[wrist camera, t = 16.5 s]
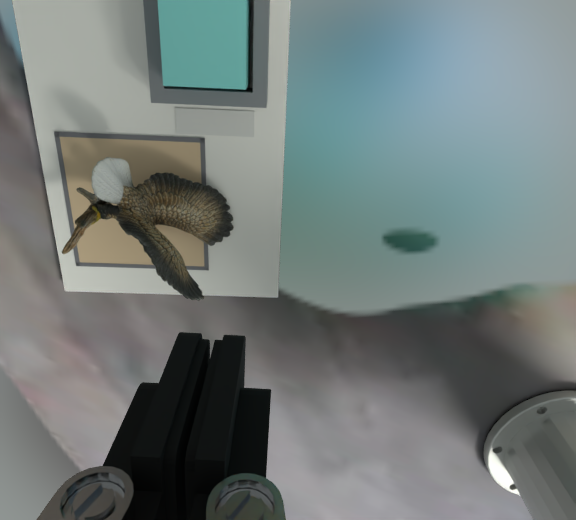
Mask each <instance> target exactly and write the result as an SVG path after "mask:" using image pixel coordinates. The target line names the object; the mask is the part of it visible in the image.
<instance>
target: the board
mask: <svg viewBox="0 0 576 520" xmlns="http://www.w3.org/2000/svg"><path fill="white" fill-rule="evenodd" d="M12 4H13V9H14V14H15V20H16V25H17V31H18V36H19V42H20V47H21V53H22V58H23V64H24V69H25V75H26V80H27V86H28V91H29V97H30V102H31V108H32V113H33V119H34V124H35V130H36V135H37V141H38V146H39V152H40V157H41V163H42V168H43V174H44V179H45V185H46V190H47V196H48V201H49V206H50V212H51V217H52V223H53V228H54V234H55V239H56V245H57V250H58V256H59V261H60V267H61V272H62V278H63V283H64V289H65V291H76V292H108V293H141V294H174V295H182V294H180V293H179V292H178V291H177V290H175V289H173V287H172V286H170V285H168V283H167V281H166V282H165V281H163V280H162V278H161V277H160V276H158V274H157V272H156V267H155V265H154V264H152V262H151V258H150V257H149V256H148V254H147V253H145V252H144V248H143V245H141V244H140V242H139V240H138V239H136V238H134V237H133V236H132V235H127V234H126V233H125V231H124V230H123V229H122V228H121V227H120V225H119V222H118V221H117V220H116V219H114V218H110V219H107V220H106V219H99V220H98V221H97V222H96V223H94V224H93V225H90V226H89V227H88V228H87V229H86V230H85V232H84V235H83V236H82V237H81V238H80V239H79V241H78V243H77V245H76V246H75V247H74V248H73V249H72V250H71V251H70V252H68V253H67V254H62V250H63V248H64V246H65V245H66V243H67V242H68V241H69V239H70V238H71V236H72V234H73V232H74V230H75V228H76V226H77V225H76V224H75V220H76V219H77V218H78V217H80V216H81V215H82V214H83V213H84V212H85V211H86V210H87V209H88V207H89V206H90V204H91V203H90V201H89V200H88V199H87V198H86V197H85V196H83V195H82V194H80V193H78V192H77V190H76V189H77V188H79V187H80V188H83V189H85V190H87V191H88V192H90V193H92V194H94V191H93V188H92V180H91V177H92V170H93V168H94V166H96V164H97V162H98V161H101V160H103V159H105V158H106V157H110V158H120V159H123V160H126V161H127V162H128V164H129V167H130V173H131V177H132V182H133V186H134V187H137V185H138V184H143V183H144V181H145V180H146V179H149V178H150V176H151V175H153V174H155V173H173V174H174V175H178V176H179V178H184V179H187V180H191V181H192V182H193V183H194V182H199V183H201V184H203V185H205V186H207V185H210V186H211V187H212V188H214V189H217V190H218V192H219V193H221V194H222V195H223V196H224V197H225V198H226V200H227V202H226V204H227V205H229V206H230V209H229V210H228V212H229V213H230V214H231V215H232V216H233V221H231V223H232V225H233V227H234V228H233V230H232V231H230V236H229V237H223V240H222V242H216V243H215V245H213V246H210V245H208V244H206V243H204V242H203V241H201V240H199V239H198V238H197V237H195V236H194V235H192V234H189V233H187V232H184V231H182V230H180V229H177V228H174V227H170V226H165V225H155V226H156V228H157V229H158V230H159V231H160V232H161V233H162V234H163V235H164V236H165V237H166V238H167V239H168V240H169V241H170V242H171V243H172V244H173V245H174V247H175V248H176V249H177V250H178V251H179V253H180V254H181V256H182V258H183V260H184V263H185V266H186V268H187V271H188V272H189V274H190V276H191V277H192V278H193V279H194V281H195V282H196V283H197V284H198V285H199V288H200V289H201V290H202V295H207V296H240V297H272V298H278V290H279V265H280V242H281V219H282V218H281V217H282V195H283V172H284V148H285V123H286V99H287V77H288V53H289V30H290V5H291V0H250V84H249V85H248V87H247V88H246V90H242V89H221V88H199V87H178V86H163V76H162V60H161V45H160V30H159V14H158V0H12ZM112 205H117V204H113V203H112Z"/></svg>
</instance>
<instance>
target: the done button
mask: <svg viewBox="0 0 576 520" xmlns="http://www.w3.org/2000/svg"><path fill="white" fill-rule="evenodd" d="M158 14H159V30H160V45H161V60H162V76H163V86H178V87H199V88H221V89H242V90H246V88H247V87H248V85H249V84H250V0H158Z"/></svg>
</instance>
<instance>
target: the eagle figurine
mask: <svg viewBox="0 0 576 520" xmlns="http://www.w3.org/2000/svg"><path fill="white" fill-rule="evenodd" d="M91 180H92V188H93V191H94V194H92V193H90V192H88V191H87V190H85V189H83V188H80V187H79V188H77V189H76V190H77V192H78V193H80V194H82V195H83V196H85V197H86V198H87V199H88V200H89V201H90V203H91V204H90V206H89V207H88V209H87V210H86V211H85V212H84V213H83V214H82V215H81V216H80V217H78V218H77V219H76V220H75V224H76V225H77V226H76V228H75V230H74V232H73V234H72V236H71V238H70V239H69V241H68V242H67V243H66V245H65V246H64V248H63V250H62V254H67V253H68V252H70V251H71V250H72V249H73V248H74V247H75V246H76V245H77V243H78V241H79V239H80V238H81V237H82V236H83V235H84V232H85V230H86V229H87V228H88V227H89V226H90V225H93V224H94V223H96V222H97V221H98V220H99V219H106V220H107V219H110V218H114V219H116V220H117V221H118V222H119V225H120V227H121V228H122V229H123V230H124V231H125V233H126V234H127V235H132V236H133V237H134V238H136V239H138V240H139V242H140V244H141V245H143V248H144V252H145V253H147V254H148V256H149V257H150V258H151V262H152V264H154V265H155V267H156V272H157V274H158V276H160V277H161V278H162V280H163V281H165V282H166V281H167V283H168V285H170V286H172V287H173V289H175V290H177V291H178V292H179V293H180V294H182V295H183V296H184V297H186V298H187V299H188V298H190V299H192V300H195V299H196V300H200V298H201V299H204V296H203V295H202V290H201V289H200V288H199V285H198V284H197V283H196V282H195V281H194V279H193V278H192V277H191V276H190V274H189V272H188V271H187V268H186V266H185V263H184V260H183V258H182V256H181V254H180V253H179V251H178V250H177V249H176V248H175V247H174V245H173V244H172V243H171V242H170V241H169V240H168V239H167V238H166V237H165V236H164V235H163V234H162V233H161V232H160V231H159V230H158V229H157V228H156V226H155V225H165V226H170V227H174V228H177V229H180V230H182V231H184V232H187V233H189V234H192V235H194V236H195V237H197V238H198V239H199V240H201V241H203V242H204V243H206V244H208V245H210V246H213V245H215V243H216V242H222V240H223V237H229V236H230V231H232V230H233V228H234V227H233V225H232V223H231V221H233V216H232V215H231V214H230V213H229V212H228V210H229V209H230V206H229V205H227V204H226V202H227V200H226V198H225V197H224V196H223V195H222V194H221V193H219V192H218V190H217V189H214V188H212V187H211V186H210V185H207V186H205V185H203V184H201V183H199V182H194V183H193V182H192V181H191V180H187V179H184V178H179V176H178V175H174V174H173V173H155V174H153V175H151V176H150V178H149V179H146V180H145V181H144V183H143V184H138V185H137V187H134V186H133V182H132V177H131V173H130V167H129V164H128V162H127V161H126V160H123V159H120V158H110V157H106V158H105V159H103V160H101V161H98V162H97V164H96V166H94V168H93V170H92V177H91ZM112 203H113V204H117V205H112Z"/></svg>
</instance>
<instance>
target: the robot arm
mask: <svg viewBox="0 0 576 520" xmlns="http://www.w3.org/2000/svg"><path fill="white" fill-rule="evenodd" d="M244 373H245V336H237V335H224V337H223V340H215V342H214V346H213V350H212V354H211V358H210V342H209V340H207V339H202V334H201V333H184V332H180V333H179V334H178V336H177V339H176V341H175V344H174V346H173V349H172V351H171V354H170V356H169V359H168V361H167V364H166V367H165V369H164V372H163V374H162V377H161V379H160V382H159V383H144V382H143V383H141V384H140V386H139V387H138V389H137V391H136V394H135V396H134V398H133V400H132V402H131V405H130V407H129V409H128V411H127V413H126V416H125V418H124V420H123V422H122V424H121V427H120V429H119V431H118V433H117V436H116V438H115V440H114V442H113V444H112V447H111V449H110V451H109V453H108V455H107V458H106V460H105V462H104V464H103V466H98V467H93V468H89V469H86V470H84V471H81V472H79V473H77V474H76V475H74V476H72V477H71V478H70V479H68V480H67V481H66V482H65V483H64V484H63V485H62V486H61V487H60V488H59V489H58V490H57V492H56V493H55V495H54V496H53V497H52V499H51V500H50V501H49V503H48V504H47V506H46V507H45V508H44V510H43V511H42V513H41V514H40V516H39V517H38V518H37V520H286V518H285V511H284V505H283V500H282V497H281V494H280V491H279V490H278V489H277V487H276V486H275V485H274V484H273V483H272V482H271V481H269V480H268V479H266V466H267V449H268V432H269V415H270V398H271V389H255V388H244ZM483 455H484V461H485V464H486V466H487V469H488V471H489V473H490V475H491V476H492V478H493V479H494V481H495V482H496V483H497V484H498V485H500V486H501V487H502V488H504V489H505V490H507V491H509V492H512V493H515V494H518V495H521V497H522V499H523V501H524V503H525V505H526V507H527V509H528V511H529V512H530V514H531V516H532V518H533V520H576V391H567V390H565V391H557V392H550V393H546V394H543V395H539V396H536V397H533V398H531V399H529V400H526V401H524V402H522V403H521V404H519V405H517V406H515V407H514V408H512V409H511V410H510V411H508V412H507V413H506V414H505V415H503V416H502V417H501V418H500V419H499V420H498V422H497V423H496V424H495V425H494V426H493V428H492V429H491V431H490V432H489V434H488V436H487V439H486V441H485V444H484V452H483Z"/></svg>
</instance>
